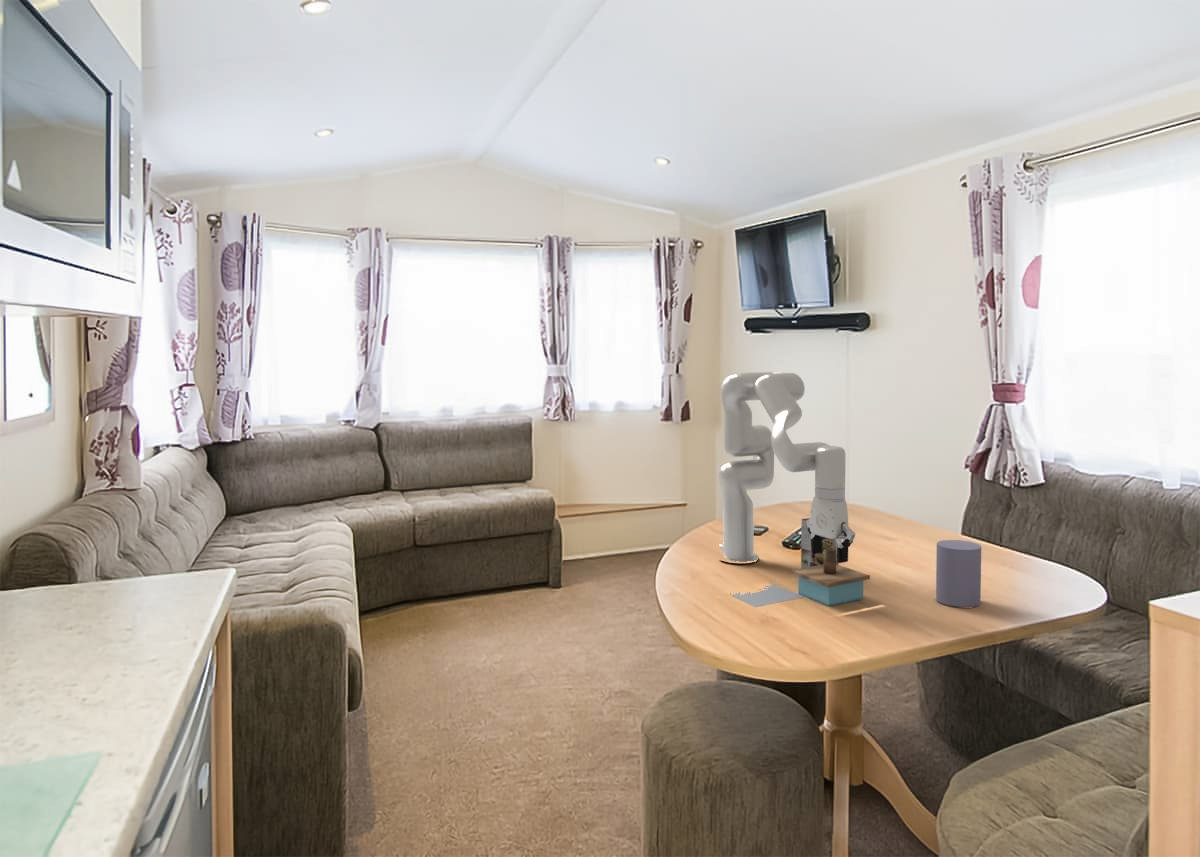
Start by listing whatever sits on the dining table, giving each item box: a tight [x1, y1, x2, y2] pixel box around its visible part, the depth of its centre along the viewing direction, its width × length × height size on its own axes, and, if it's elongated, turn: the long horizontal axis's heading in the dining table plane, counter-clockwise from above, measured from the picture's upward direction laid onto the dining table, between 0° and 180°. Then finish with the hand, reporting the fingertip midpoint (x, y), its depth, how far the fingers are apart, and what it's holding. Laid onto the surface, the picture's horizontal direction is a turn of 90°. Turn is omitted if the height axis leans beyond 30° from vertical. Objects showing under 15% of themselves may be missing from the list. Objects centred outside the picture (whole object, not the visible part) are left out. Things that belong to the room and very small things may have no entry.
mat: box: [729, 583, 805, 608], centre depth 203 cm, size 16×16×1 cm
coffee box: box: [800, 517, 840, 568], centre depth 223 cm, size 9×6×16 cm
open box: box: [797, 576, 864, 607], centre depth 199 cm, size 12×12×6 cm
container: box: [935, 539, 982, 608], centre depth 193 cm, size 10×10×15 cm
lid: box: [790, 549, 871, 587], centre depth 199 cm, size 14×14×7 cm
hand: (829, 557), depth 199 cm, fingers open, 9 cm apart
